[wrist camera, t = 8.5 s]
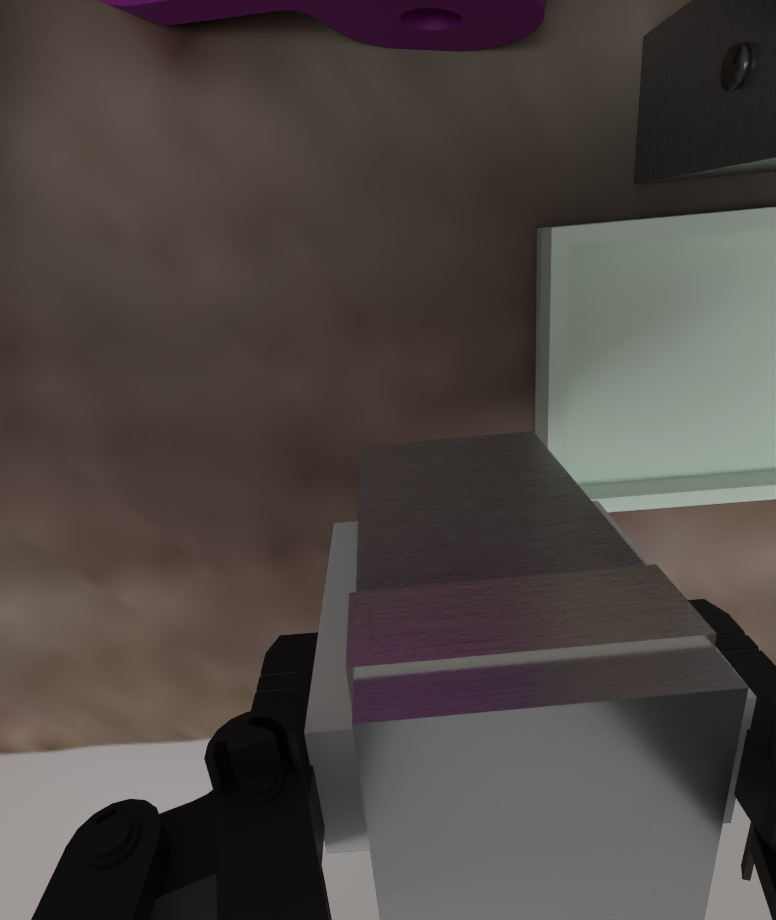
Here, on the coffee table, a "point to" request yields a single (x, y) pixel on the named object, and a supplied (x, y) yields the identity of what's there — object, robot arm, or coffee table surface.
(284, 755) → the robot arm
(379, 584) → the module
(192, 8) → the mounting bracket
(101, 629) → the coffee table surface
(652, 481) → the tray
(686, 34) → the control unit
